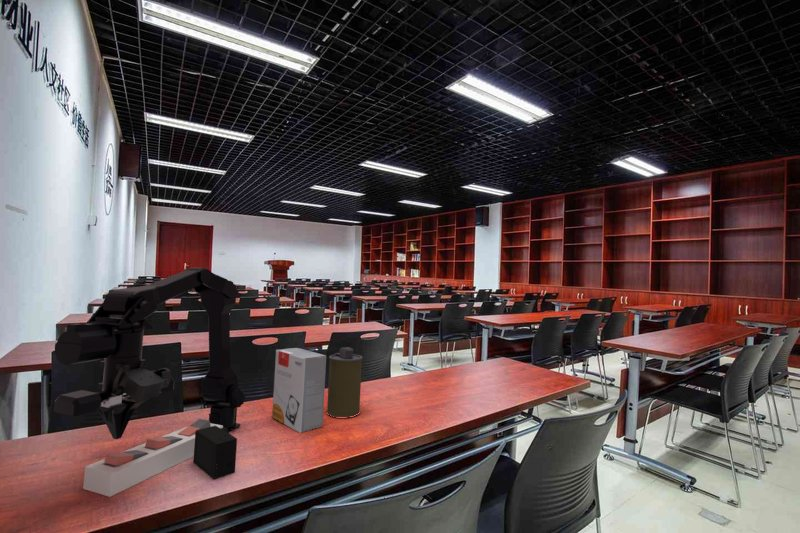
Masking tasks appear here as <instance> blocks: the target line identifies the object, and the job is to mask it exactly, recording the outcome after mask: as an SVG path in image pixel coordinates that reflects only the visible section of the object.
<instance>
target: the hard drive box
mask: <svg viewBox="0 0 800 533" xmlns="http://www.w3.org/2000/svg"><path fill="white" fill-rule="evenodd" d="M326 365H327V355H325V354H322V353H318V352H315V351H311V350H307V349H304V348H299V347H293V348H292V347H291V348H290V347H289V348H283V349H275V362H274V379H273V396H272V410H271V412H272V413H271V418H272V417H273V418H272V419H274V420H276V421H277V420H278V421H279V423H281V424H282V425H285V426H287V427H289V428H290V429H291V428H292V430H293V431H295V432H297V433H299V434H302V433H305V431H306V432H308V431H312V429H313V430H315V428H316V429H319V428H322V427H323V426H324V409H325V408H324V405H325V387H326V385H325V384H326V372H327V370H326V369H327V367H326ZM278 421H277V422H278Z"/></svg>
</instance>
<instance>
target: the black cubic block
mask: <svg viewBox="0 0 800 533" xmlns="http://www.w3.org/2000/svg"><path fill="white" fill-rule="evenodd" d="M237 446H238V438H237V437H235V436H234V435H232V434H230V431H228V429H227V428H226V427H224V428H219V427H217V426H212V427H208V428H203V429H199V430H196V432H195V446H194V456H193V460H192V461H193V463H192V464H194V465H195V466H196V467H198V468H199V469H200V470H202V471H203V472H204V473H205V474H206V475H207V476H209V478H211V479H212V480H218V479H220V478H224V477H225V476H229V475H232V474H234V473H236V460H237V449H238V448H237Z"/></svg>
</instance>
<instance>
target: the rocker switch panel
mask: <svg viewBox="0 0 800 533" xmlns="http://www.w3.org/2000/svg"><path fill="white" fill-rule="evenodd" d="M212 426H217V427H219V428H223V426H222V425H217V424H212V423H210V427H212ZM187 427H188V426H185V427H183V428H181V429H178V430H175V431H173V432H170V433H167V434H165V435H162V436H161V437H167V436H174V437H178V438H182V440H180V441H178V442H176V443H173V444H171V445H168V446H166V447H164V448H158V449H155V448H151V447H147V446H145V445H146V442H145V443H142V444H139V445H137V446H134V447H132V448H129V449H126V450H124V451H123V452H126V451H133V450H138V451H142V452H147V453H148V454H147V455H145V456H142V457H140V458H138V459H135V460H133V461H131V462H128V463H126V464H122V465H112V464H108V463H105V462H104V461H105V458H104V459H101V460H98V461H96V462H93V463H90V464H87V465H86V466H84V477H83V478H84V479H83V485H82V486H83V488H82V489H83V490H87V491H89V492H93V493H95V494H98V495H103V496H105V497H108V498H111V497H112V496H115V495H117V494H118V493H121V492H123V491H125V490H127V489H129V488H131V487H133V486H136V485H137V484H140V483H142V482H143V481H145V480H148V479H149V478H150V479H151V477H154V476H155V475H158V474H160V473H162V472H164V471H167V470H168V469H170V468H172V467H174V466H176V465H178V464H181V463H183V462H185V461H186V460H189V459H191V458H194V446H195V435H192V436H190V437H188V436H183V435H178V433H179V432H181V431H182V430H184V429H185V428H187Z"/></svg>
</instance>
